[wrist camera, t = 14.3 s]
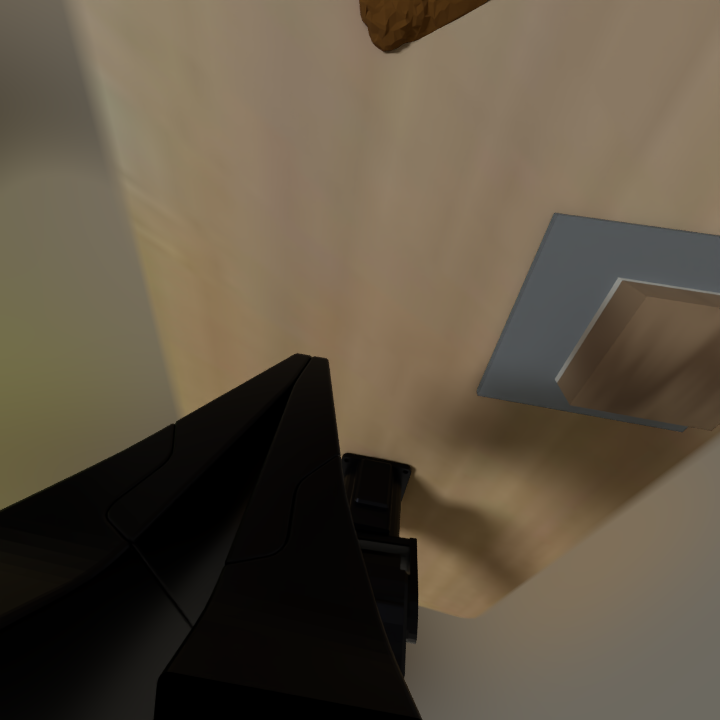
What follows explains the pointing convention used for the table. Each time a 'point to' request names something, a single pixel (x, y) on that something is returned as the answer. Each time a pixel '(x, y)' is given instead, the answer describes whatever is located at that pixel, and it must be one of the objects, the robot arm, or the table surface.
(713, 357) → the tile
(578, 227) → the mat
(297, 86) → the table surface
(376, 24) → the primitive tool
